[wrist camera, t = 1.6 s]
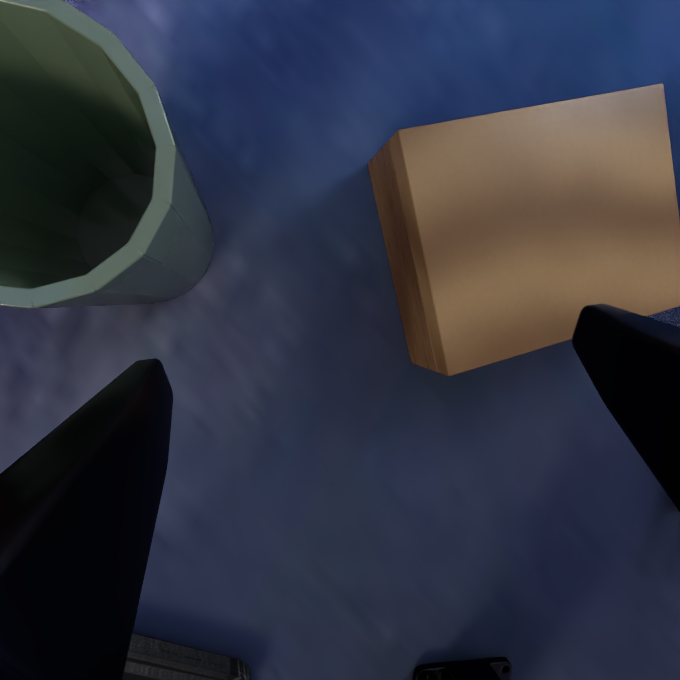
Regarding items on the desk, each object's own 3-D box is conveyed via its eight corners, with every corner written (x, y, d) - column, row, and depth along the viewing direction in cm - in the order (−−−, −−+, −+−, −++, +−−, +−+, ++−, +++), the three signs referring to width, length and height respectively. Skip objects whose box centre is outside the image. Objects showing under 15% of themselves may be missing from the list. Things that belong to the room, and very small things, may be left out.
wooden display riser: (615, 303, 27) (690, 303, 22) (410, 362, 24) (448, 377, 19) (589, 121, 25) (663, 82, 21) (366, 163, 22) (397, 129, 18)
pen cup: (208, 309, 21) (162, 320, 9) (70, 295, 20) (-196, 288, 8) (219, 183, 21) (185, 23, 9) (79, 160, 19) (-189, -68, 7)
